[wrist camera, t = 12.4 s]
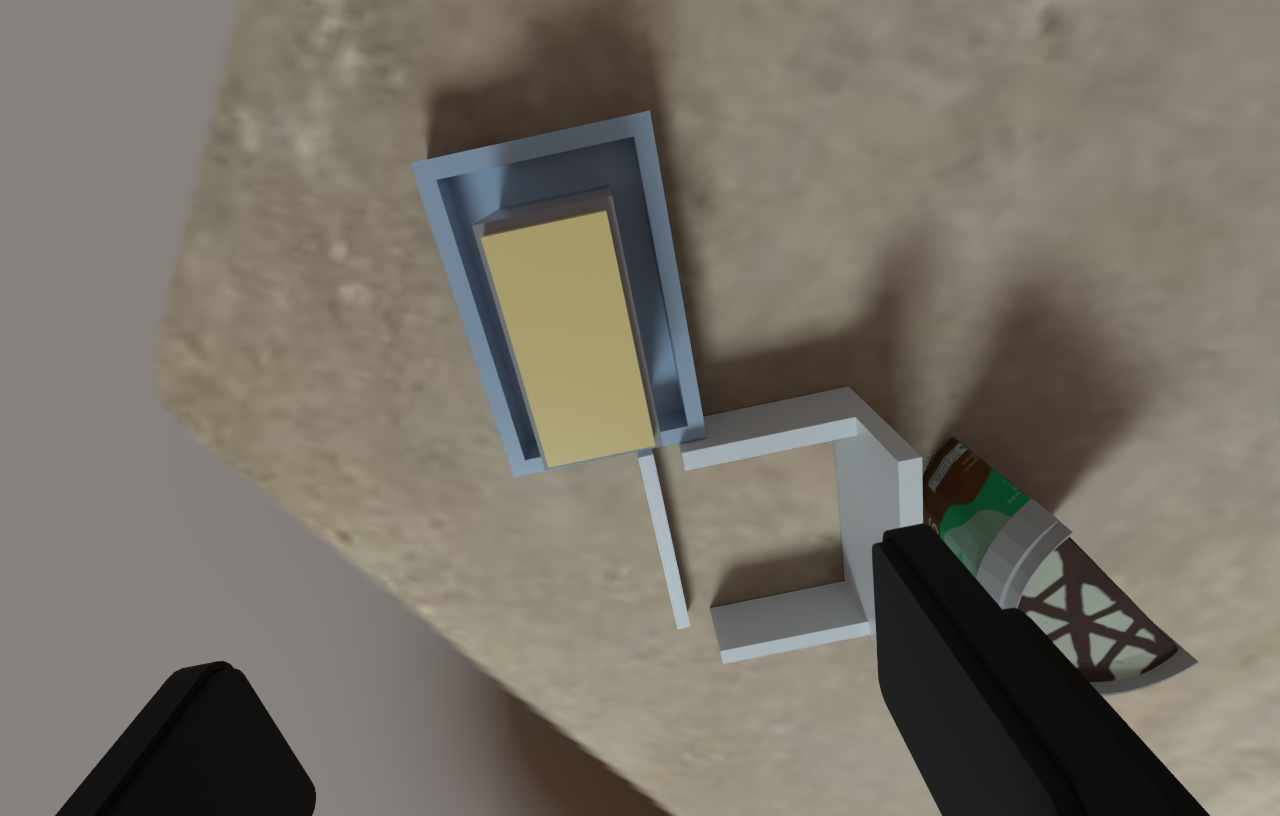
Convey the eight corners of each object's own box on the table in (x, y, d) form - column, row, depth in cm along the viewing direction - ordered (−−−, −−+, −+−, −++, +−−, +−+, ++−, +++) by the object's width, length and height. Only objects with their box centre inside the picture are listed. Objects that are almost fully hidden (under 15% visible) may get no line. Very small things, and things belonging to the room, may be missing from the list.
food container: (852, 494, 35) (943, 618, 26) (937, 421, 33) (1065, 524, 24) (974, 601, 39) (1090, 742, 30) (1055, 539, 37) (1204, 668, 28)
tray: (645, 113, 26) (649, 110, 24) (698, 415, 32) (706, 437, 30) (426, 161, 27) (410, 163, 24) (519, 453, 32) (513, 477, 30)
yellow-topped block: (609, 184, 27) (612, 196, 20) (650, 389, 31) (664, 453, 24) (499, 208, 27) (468, 227, 21) (555, 409, 31) (543, 477, 25)
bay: (848, 386, 32) (922, 456, 25) (861, 590, 38) (925, 697, 30) (633, 431, 32) (643, 514, 25) (678, 627, 38) (696, 741, 31)
